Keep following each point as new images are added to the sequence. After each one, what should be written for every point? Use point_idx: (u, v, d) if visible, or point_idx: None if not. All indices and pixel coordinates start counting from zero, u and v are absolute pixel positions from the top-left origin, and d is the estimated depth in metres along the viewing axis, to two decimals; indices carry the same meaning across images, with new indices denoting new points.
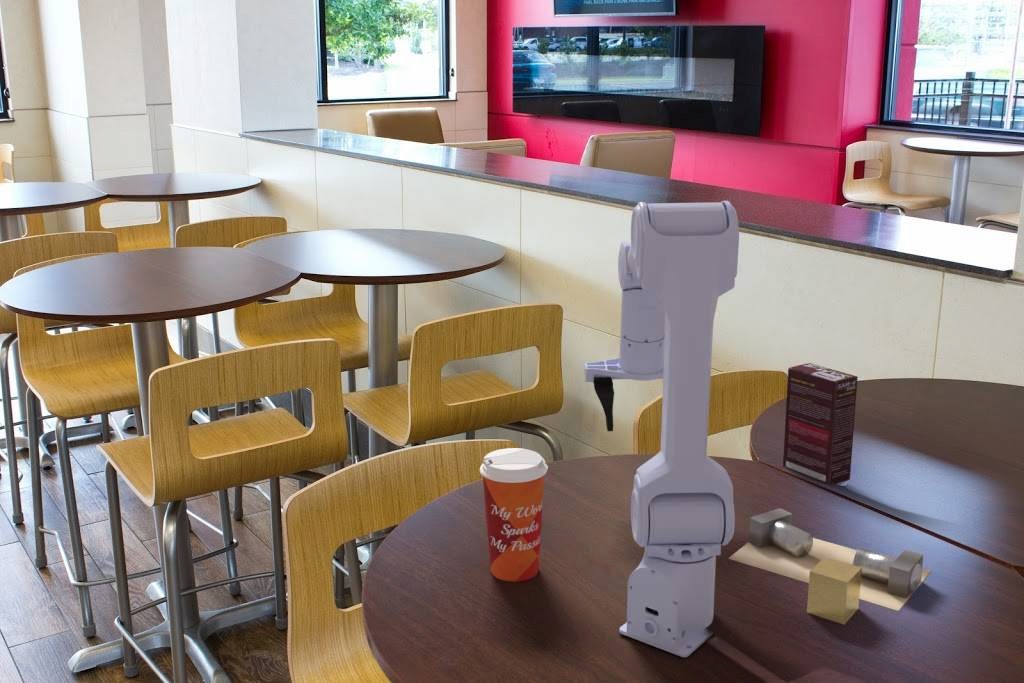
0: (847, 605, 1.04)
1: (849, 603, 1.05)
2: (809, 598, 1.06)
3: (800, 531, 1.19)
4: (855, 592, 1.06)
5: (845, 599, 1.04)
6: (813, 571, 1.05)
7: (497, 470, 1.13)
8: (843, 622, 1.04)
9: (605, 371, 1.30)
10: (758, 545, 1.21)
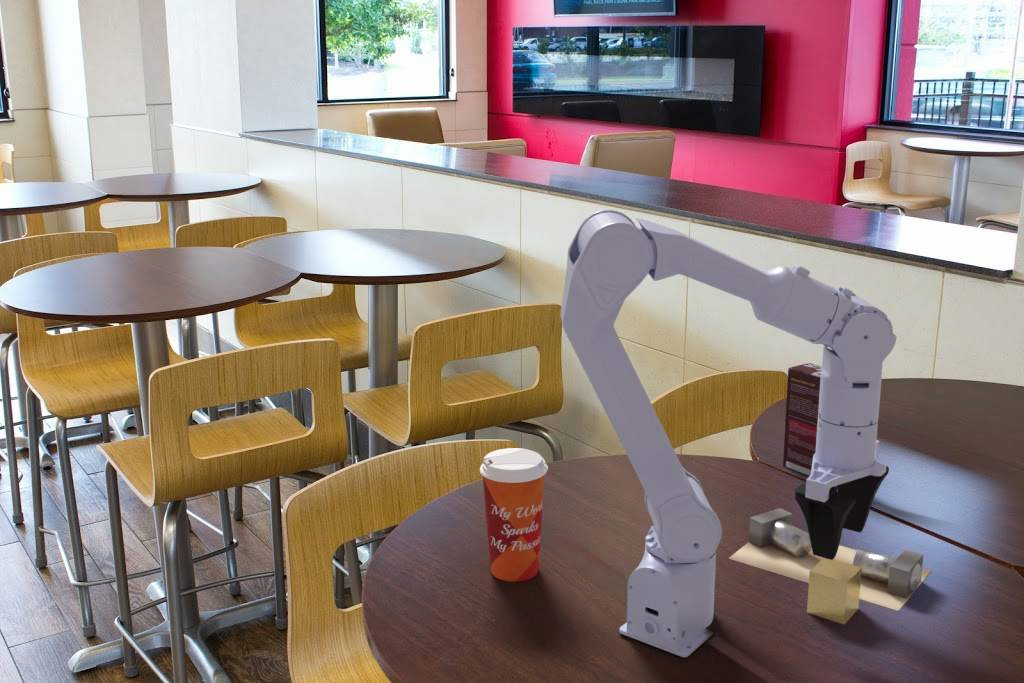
0: (847, 605, 1.04)
1: (849, 603, 1.05)
2: (809, 598, 1.06)
3: (800, 531, 1.19)
4: (855, 592, 1.06)
5: (845, 599, 1.04)
6: (813, 571, 1.05)
7: (497, 470, 1.13)
8: (843, 622, 1.04)
9: None
10: (758, 545, 1.21)
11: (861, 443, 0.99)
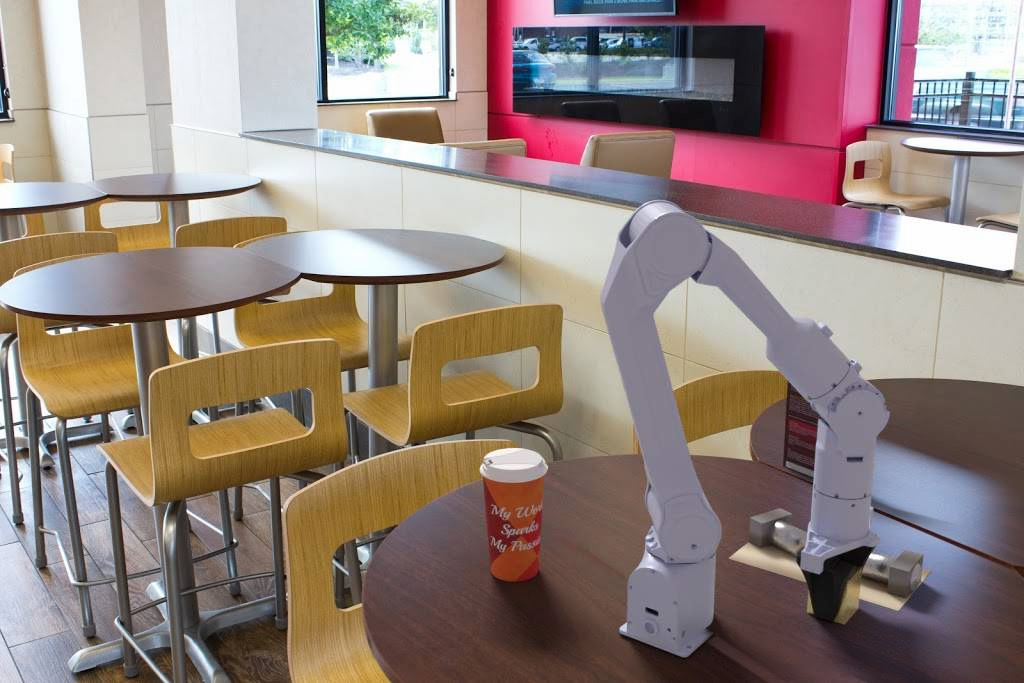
0: (847, 604, 1.04)
1: (849, 602, 1.05)
2: (809, 598, 1.06)
3: (800, 531, 1.19)
4: (855, 591, 1.06)
5: (845, 598, 1.04)
6: None
7: (497, 470, 1.13)
8: (843, 622, 1.04)
9: None
10: (758, 545, 1.21)
11: (855, 515, 1.01)
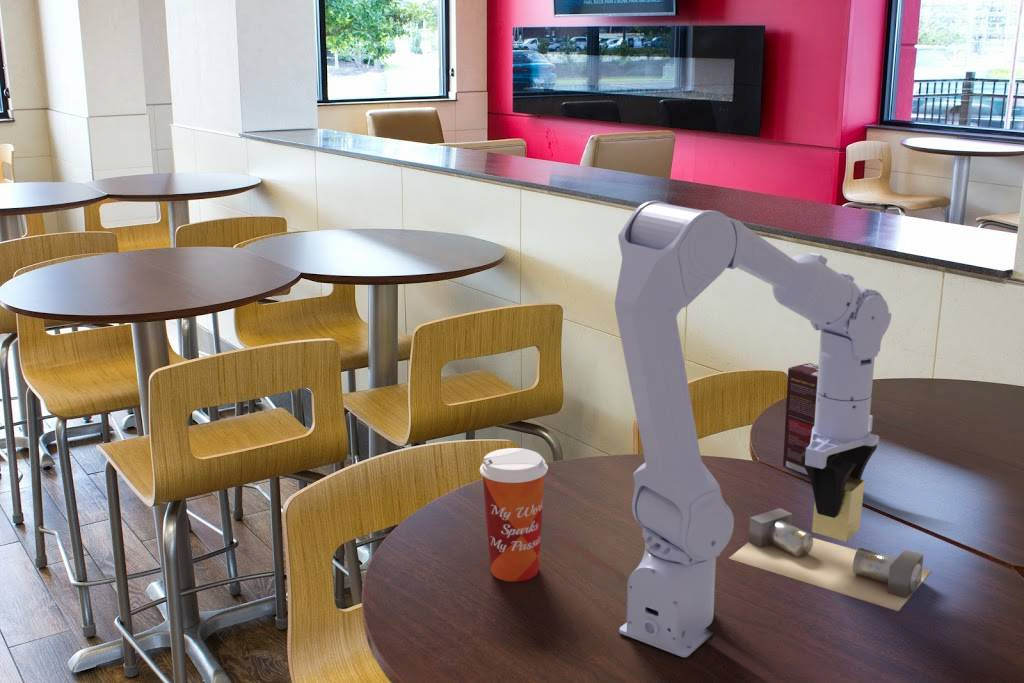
0: (850, 513, 1.12)
1: (852, 512, 1.13)
2: (815, 508, 1.14)
3: (800, 531, 1.19)
4: (858, 503, 1.14)
5: (849, 507, 1.12)
6: None
7: (498, 470, 1.13)
8: (846, 529, 1.12)
9: None
10: (758, 545, 1.21)
11: (856, 416, 1.09)
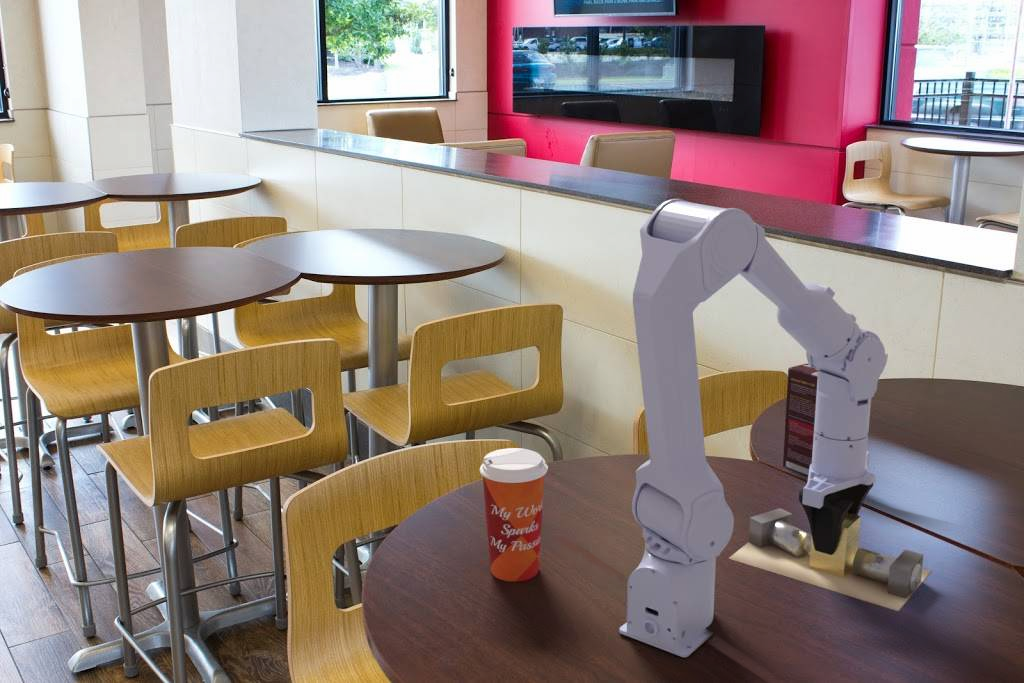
0: (847, 549, 1.13)
1: (849, 548, 1.14)
2: (812, 544, 1.15)
3: (800, 531, 1.19)
4: (855, 538, 1.15)
5: (845, 544, 1.13)
6: None
7: (498, 470, 1.13)
8: (843, 565, 1.14)
9: None
10: (758, 545, 1.21)
11: (853, 455, 1.10)
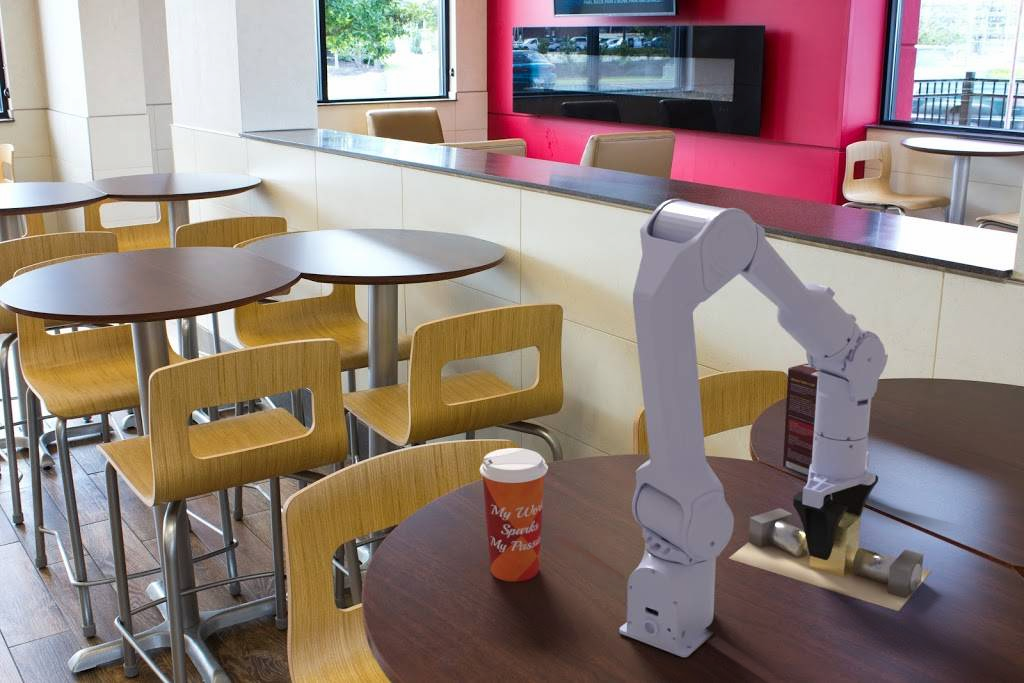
0: (847, 549, 1.13)
1: (849, 548, 1.14)
2: None
3: (800, 531, 1.19)
4: (855, 538, 1.15)
5: (845, 544, 1.13)
6: None
7: (497, 470, 1.13)
8: (843, 565, 1.14)
9: None
10: (758, 545, 1.21)
11: (853, 455, 1.10)
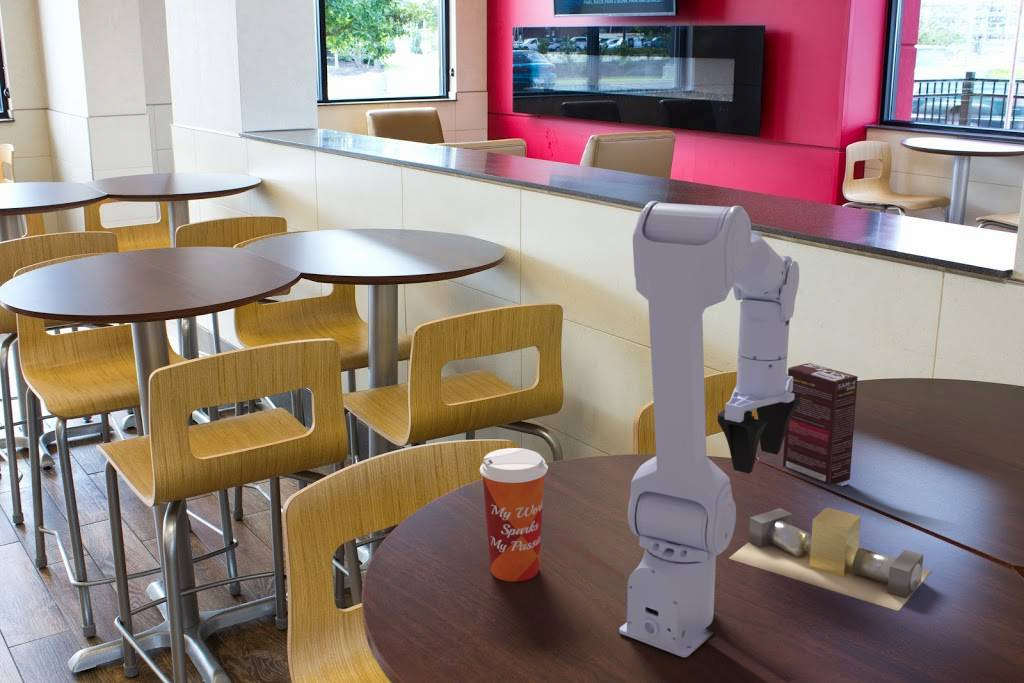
0: (847, 549, 1.13)
1: (849, 548, 1.14)
2: (812, 544, 1.15)
3: (800, 531, 1.19)
4: (855, 538, 1.15)
5: (845, 544, 1.13)
6: (816, 519, 1.15)
7: (497, 470, 1.13)
8: (843, 565, 1.14)
9: None
10: (758, 545, 1.21)
11: (772, 374, 1.19)
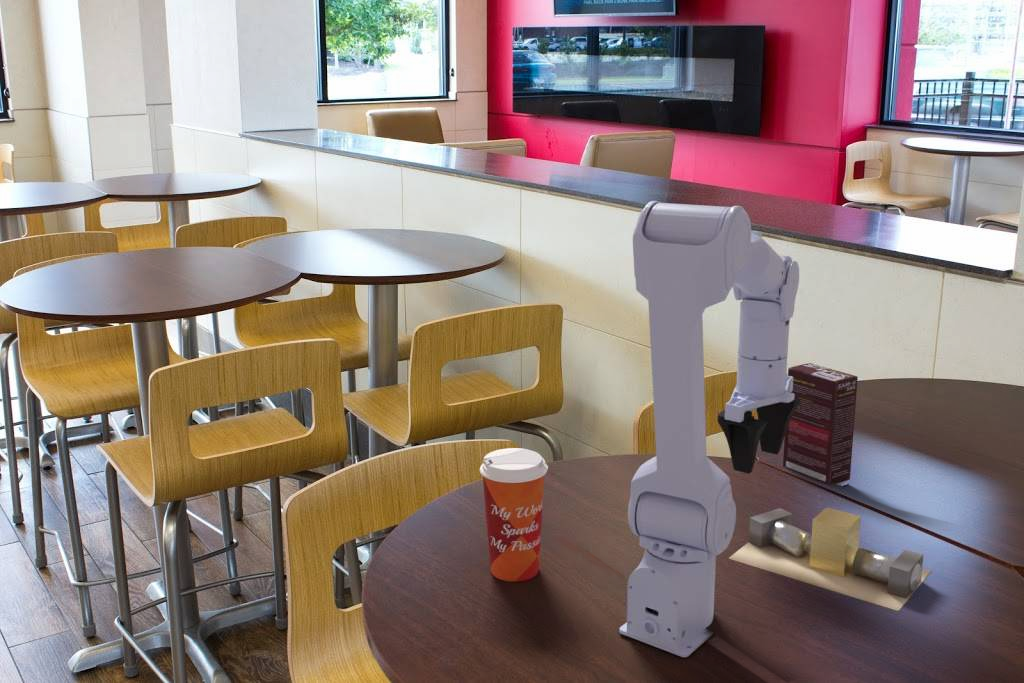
0: (847, 549, 1.13)
1: (849, 548, 1.14)
2: (812, 544, 1.15)
3: (800, 531, 1.19)
4: (855, 538, 1.15)
5: (845, 544, 1.13)
6: (816, 519, 1.15)
7: (498, 470, 1.13)
8: (843, 565, 1.14)
9: None
10: (758, 545, 1.21)
11: (772, 374, 1.19)
